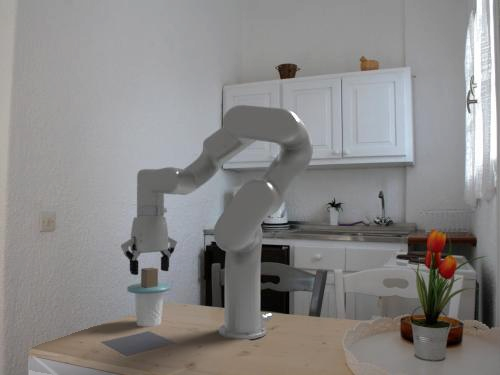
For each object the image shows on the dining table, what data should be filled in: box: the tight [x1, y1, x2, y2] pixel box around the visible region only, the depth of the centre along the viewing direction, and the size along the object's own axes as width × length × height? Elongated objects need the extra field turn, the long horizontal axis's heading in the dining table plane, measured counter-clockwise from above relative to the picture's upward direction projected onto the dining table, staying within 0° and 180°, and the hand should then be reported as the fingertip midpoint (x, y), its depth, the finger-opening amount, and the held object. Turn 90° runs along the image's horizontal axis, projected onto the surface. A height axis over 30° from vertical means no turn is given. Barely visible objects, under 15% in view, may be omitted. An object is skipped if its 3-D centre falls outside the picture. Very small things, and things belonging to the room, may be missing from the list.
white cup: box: [134, 292, 164, 328], centre depth 119 cm, size 8×8×10 cm
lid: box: [126, 267, 172, 294], centre depth 119 cm, size 12×12×6 cm
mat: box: [101, 330, 177, 357], centre depth 101 cm, size 13×13×1 cm
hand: (149, 272), depth 119 cm, fingers open, 9 cm apart
